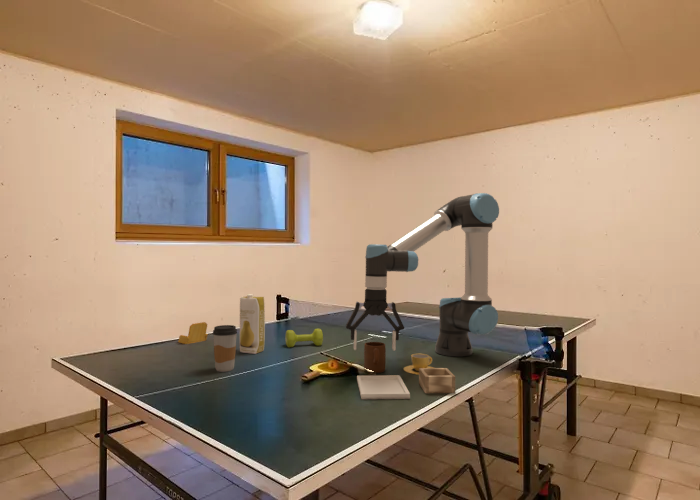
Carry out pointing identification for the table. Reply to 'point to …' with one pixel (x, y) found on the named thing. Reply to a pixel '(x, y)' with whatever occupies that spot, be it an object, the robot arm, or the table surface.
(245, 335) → the juice carton
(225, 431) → the table surface
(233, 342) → the coffee cup
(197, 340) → the yellow stepped piece
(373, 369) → the mug
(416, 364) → the cup
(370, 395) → the tray
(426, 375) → the oak box
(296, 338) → the dumbbell
